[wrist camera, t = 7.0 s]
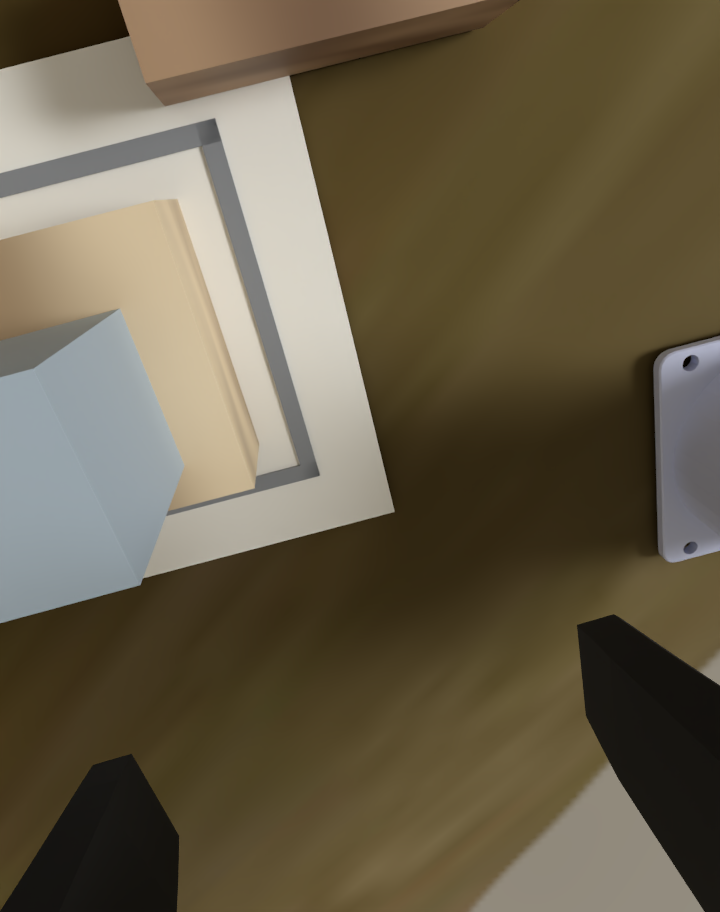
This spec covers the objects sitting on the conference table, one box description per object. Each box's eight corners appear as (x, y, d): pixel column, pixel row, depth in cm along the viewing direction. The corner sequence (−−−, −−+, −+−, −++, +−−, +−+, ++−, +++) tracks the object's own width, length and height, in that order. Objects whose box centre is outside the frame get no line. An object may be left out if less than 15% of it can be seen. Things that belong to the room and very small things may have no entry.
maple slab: (177, 198, 15) (153, 200, 13) (259, 443, 18) (254, 488, 15) (-91, 268, 15) (-174, 284, 12) (34, 502, 18) (-11, 557, 15)
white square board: (271, 4, 14) (270, -2, 14) (393, 507, 20) (394, 513, 20) (-311, 152, 14) (-327, 151, 14) (-18, 615, 20) (-23, 623, 19)
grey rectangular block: (120, 308, 13) (34, 368, 9) (184, 465, 15) (140, 585, 10) (-55, 355, 13) (-233, 440, 9) (29, 507, 15) (-84, 645, 10)
